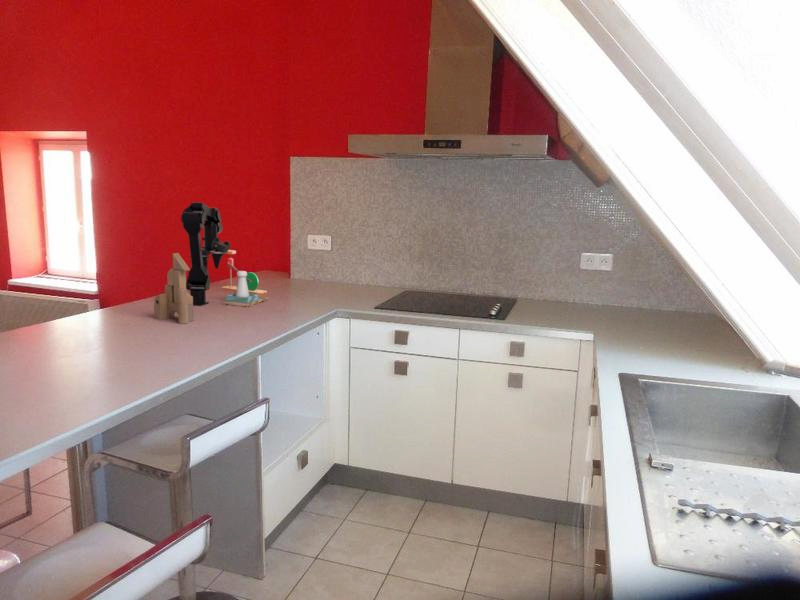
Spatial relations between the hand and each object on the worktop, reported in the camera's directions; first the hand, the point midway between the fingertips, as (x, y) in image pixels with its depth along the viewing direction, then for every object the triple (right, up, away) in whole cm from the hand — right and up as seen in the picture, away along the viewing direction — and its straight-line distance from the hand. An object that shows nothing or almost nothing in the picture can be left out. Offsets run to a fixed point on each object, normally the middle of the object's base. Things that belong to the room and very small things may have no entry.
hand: (211, 269), depth 266 cm
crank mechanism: (+11, -10, +15) cm, 21 cm away
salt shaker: (+18, -14, -14) cm, 27 cm away
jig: (+19, -15, -11) cm, 26 cm away
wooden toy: (+3, -22, -49) cm, 54 cm away
